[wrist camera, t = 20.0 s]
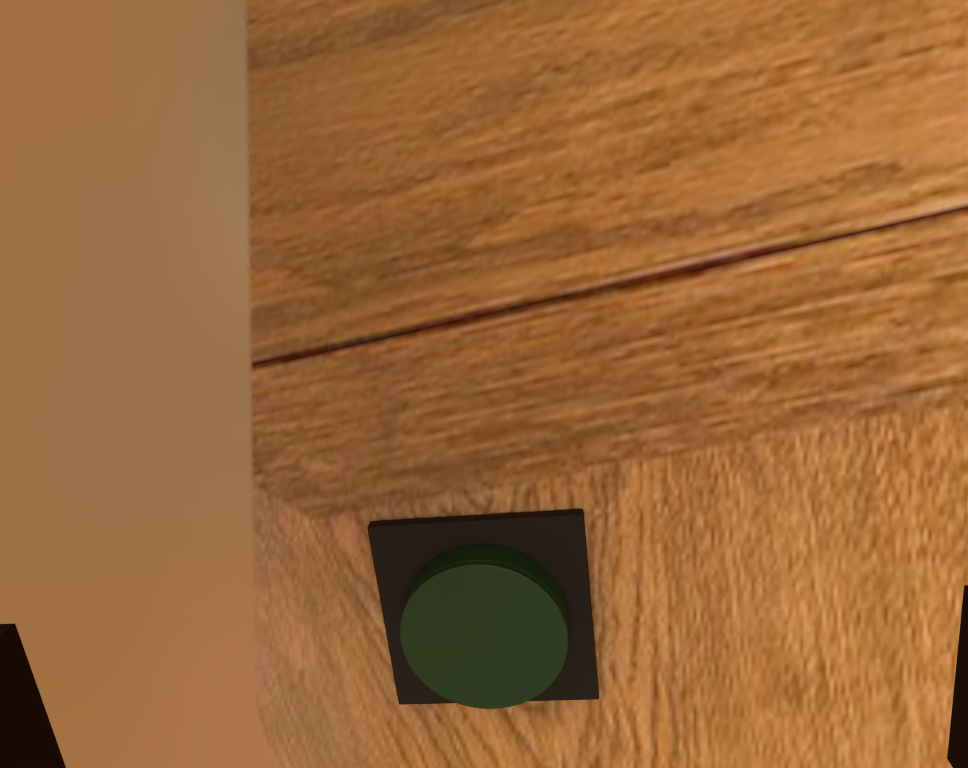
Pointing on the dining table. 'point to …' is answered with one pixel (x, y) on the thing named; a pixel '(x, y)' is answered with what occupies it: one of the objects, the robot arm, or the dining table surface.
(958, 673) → the robot arm
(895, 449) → the dining table surface
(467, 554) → the jar lid
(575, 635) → the coaster
